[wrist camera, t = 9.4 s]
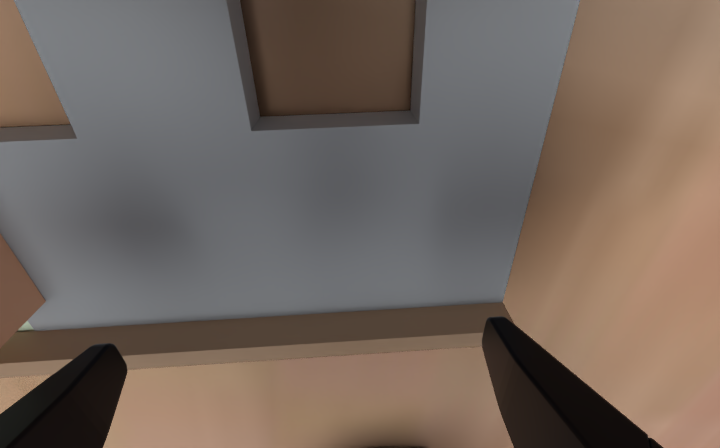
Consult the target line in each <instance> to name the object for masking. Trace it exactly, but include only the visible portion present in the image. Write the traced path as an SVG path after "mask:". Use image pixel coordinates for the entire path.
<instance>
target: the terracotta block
mask: <svg viewBox="0 0 720 448" xmlns="http://www.w3.org/2000/svg"><path fill="white" fill-rule="evenodd" d="M45 302H46V301H45V299H44V298H43V296H42V295H41V293H40V292H39V290H38V289H37V287H36V286H35V284H34V283H33V281H32V280H31V278H30V277H29V275H28V274H27V272H26V271H25V269H24V268H23V267H22V265H21V264H20V262H19V261H18V259H17V258H16V256H15V255H14V253H13V252H12V250H11V249H10V247H9V246H8V244H7V243H6V241H5V240H4V238H3V237H2V235H1V234H0V348H1V347H2V346H3V345H4V344H5V343H6V342H7V341H8V340H9V339H10V338H11V337H12V336H13V335H14V334H15V333H16V332H17V331H18V330H19V329H20V327H21V326H22V325H23V324H24V323H25V322H26V321H27V320H28V319H29V318H30V317H31V316H32V315H33V314H34V313H35V312H36V311H37V310H38V309H39V308H40V307H41V306H42V305H43V304H44V303H45Z"/></svg>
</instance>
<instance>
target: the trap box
mask: <svg viewBox="0 0 720 448" xmlns="http://www.w3.org/2000/svg"><path fill="white" fill-rule="evenodd" d="M14 2H15V4H16V6H17V8H18V10H19V13H20V15H21V17H22V19H23V21H24V23H25V26H26V28H27V30H28V32H29V34H30V37H31V39H32V41H33V43H34V45H35V47H36V50H37V52H38V54H39V56H40V58H41V60H42V63H43V65H44V67H45V69H46V71H47V74H48V76H49V78H50V80H51V82H52V84H53V87H54V89H55V91H56V93H57V95H58V97H59V100H60V102H61V104H62V106H63V108H64V110H65V113H66V115H67V117H68V119H69V121H70V124H71V125H52V126H28V127H4V128H0V234H1V235H2V237H3V238H4V240H5V241H6V243H7V244H8V246H9V247H10V249H11V250H12V252H13V253H14V255H15V256H16V258H17V259H18V261H19V262H20V264H21V265H22V267H23V268H24V269H25V271H26V272H27V274H28V275H29V277H30V278H31V280H32V281H33V283H34V284H35V286H36V287H37V289H38V290H39V292H40V293H41V295H42V296H43V298H44V299H45V301H46V302H45V303H44V304H43V305H42V306H41V307H40V308H39V309H38V310H37V311H36V312H35V313H34V314H33V315H32V316H31V317H30V318H29V319H28V320H27V321H26V322H25V323H24V324H23V325H22V326H21V327H20V329H19V330H18V331H17V332H16V333H15V334H14V335H13V336H12V337H11V338H10V339H9V340H8V341H7V342H6V343H5V344H4V345H3V346H2V347H1V348H0V378H9V377H24V376H39V375H53V374H54V373H56V372H57V371H58V370H60V369H61V368H62V367H64V366H65V365H66V364H68V363H69V362H70V361H72V360H73V359H74V358H76V357H77V356H78V355H80V354H81V353H82V352H84V351H85V350H86V349H88V348H89V347H90V346H92V345H95V344H103V343H112V344H114V345H115V346H116V347H117V349H118V350H119V352H120V354H121V355H122V357H123V359H124V360H125V362H126V364H127V370H130V369H146V368H161V367H176V366H191V365H206V364H222V363H237V362H252V361H267V360H282V359H297V358H313V357H328V356H343V355H358V354H373V353H389V352H404V351H419V350H434V349H449V348H464V347H480V346H482V336H483V332H484V327H485V323H486V320H487V318H488V317H497V316H503V317H506V318H507V319H509V320H510V321H511V322H512V323H513V321H512V319H511V317H510V315H509V313H508V312H507V310H506V308H505V306H504V304H503V298H504V294H505V291H506V287H507V283H508V279H509V275H510V271H511V267H512V263H513V259H514V256H515V252H516V248H517V244H518V240H519V236H520V232H521V228H522V224H523V220H524V217H525V213H526V209H527V205H528V201H529V197H530V193H531V189H532V185H533V182H534V178H535V174H536V170H537V166H538V162H539V158H540V154H541V150H542V146H543V143H544V139H545V135H546V131H547V127H548V123H549V119H550V115H551V111H552V108H553V104H554V100H555V96H556V92H557V88H558V84H559V80H560V76H561V72H562V69H563V65H564V61H565V57H566V53H567V49H568V45H569V41H570V37H571V34H572V30H573V26H574V22H575V18H576V14H577V10H578V6H579V2H580V0H416V7H415V28H414V48H413V68H412V89H411V109H410V111H386V112H362V113H338V114H315V115H291V116H267V117H260V113H259V107H258V102H257V96H256V90H255V84H254V78H253V73H252V67H251V61H250V55H249V50H248V44H247V38H246V32H245V27H244V21H243V15H242V9H241V4H240V0H14ZM513 324H514V323H513Z"/></svg>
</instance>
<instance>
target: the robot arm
mask: <svg viewBox="0 0 720 448" xmlns="http://www.w3.org/2000/svg"><path fill="white" fill-rule="evenodd" d="M482 348H483V352H484V356H485V359H486V363H487V366H488V370H489V374H490V377H491V381H492V385H493V388H494V392H495V396H496V399H497V403H498V406H499V409H500V412H501V415H502V418H503V420H504V423H505V425H506V428H507V431H508V433H509V436H510V438H511V441H512V443H513V446H514V448H663V447H662V446H661V445H660V444H658V443H657V442H656V441H655V440H654V439H652V438H648V435H647V434H646V433H645V432H644V431H642V430H641V429H640V428H639V427H638V426H636V425H635V424H634V423H633V422H632V421H630V420H629V419H628V418H627V417H626V416H624V415H623V414H622V413H621V412H620V411H618V410H617V409H616V408H615V407H614V406H612V405H611V404H610V403H609V402H608V401H606V400H605V399H604V398H603V397H601V396H600V395H599V394H598V393H597V392H595V391H594V390H593V389H592V388H591V387H589V386H588V385H587V384H586V383H585V382H583V381H582V380H581V379H580V378H579V377H577V376H576V375H575V374H574V373H573V372H571V371H570V370H569V369H568V368H567V367H565V366H564V365H563V364H562V363H560V362H559V361H558V360H557V359H556V358H554V357H553V356H552V355H551V354H550V353H548V352H547V351H546V350H545V349H544V348H542V347H541V346H540V345H539V344H538V343H536V342H535V341H534V340H533V339H532V338H530V337H529V336H528V335H527V334H525V333H524V332H523V331H522V330H521V329H519V328H518V327H517V326H516V325H515V324H513V323H512V322H511V321H510V320H509V319H507V318H506V317H503V316H497V317H488V318H487V320H486V323H485V327H484V332H483V336H482ZM126 375H127V364H126V362H125V360H124V359H123V357H122V355H121V354H120V352H119V350H118V349H117V347H116V346H115V345H114V344H112V343H103V344H95V345H92V346H90V347H89V348H88V349H86V350H85V351H84V352H82V353H81V354H80V355H78V356H77V357H76V358H74V359H73V360H72V361H70V362H69V363H68V364H66V365H65V366H64V367H62V368H61V369H60V370H58V371H57V372H56V373H54V374H53V375H52V376H50V377H49V378H48V379H46V380H45V381H44V382H42V383H41V384H40V385H38V386H37V387H36V388H34V389H33V390H32V391H30V392H29V393H28V394H26V395H25V396H24V397H22V398H21V399H20V400H18V401H17V402H16V403H14V404H13V405H12V406H10V407H9V408H8V409H6V410H5V411H4V412H3V413H1V414H0V448H103V445H104V443H105V440H106V438H107V435H108V432H109V429H110V426H111V423H112V420H113V416H114V413H115V410H116V407H117V404H118V401H119V397H120V394H121V391H122V388H123V385H124V382H125V378H126Z"/></svg>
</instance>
